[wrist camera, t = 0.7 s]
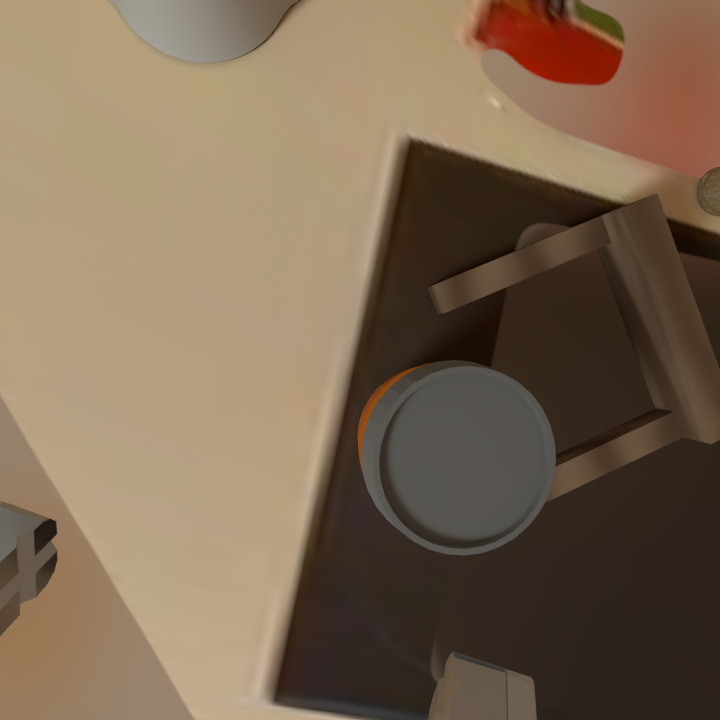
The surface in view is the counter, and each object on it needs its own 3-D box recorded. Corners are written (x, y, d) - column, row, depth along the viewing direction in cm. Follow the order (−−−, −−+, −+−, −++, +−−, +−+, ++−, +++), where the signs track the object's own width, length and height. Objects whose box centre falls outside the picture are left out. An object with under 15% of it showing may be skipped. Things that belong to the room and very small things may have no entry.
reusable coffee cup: (450, 333, 53) (519, 330, 38) (500, 463, 54) (587, 510, 39) (318, 388, 51) (336, 408, 37) (372, 521, 52) (412, 592, 38)
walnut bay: (513, 504, 54) (543, 524, 48) (427, 287, 52) (447, 280, 47) (691, 420, 57) (741, 429, 51) (615, 209, 55) (657, 193, 49)
